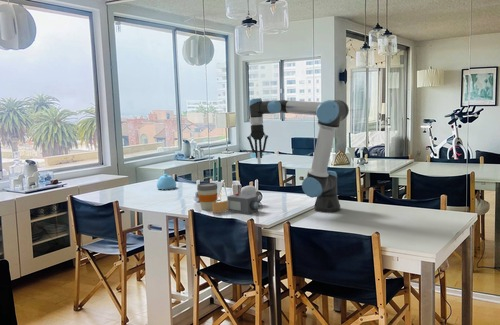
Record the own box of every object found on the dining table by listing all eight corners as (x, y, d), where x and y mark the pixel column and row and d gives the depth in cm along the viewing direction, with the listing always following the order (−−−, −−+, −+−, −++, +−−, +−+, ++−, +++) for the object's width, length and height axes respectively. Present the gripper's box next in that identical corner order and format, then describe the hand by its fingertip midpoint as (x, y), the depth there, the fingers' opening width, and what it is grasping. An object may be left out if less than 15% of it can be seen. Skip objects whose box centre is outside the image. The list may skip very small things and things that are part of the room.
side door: (213, 213, 276) (212, 203, 275) (212, 212, 277) (212, 202, 276) (229, 210, 281) (229, 200, 281) (228, 209, 282) (228, 200, 282)
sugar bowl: (170, 186, 379) (169, 172, 378) (180, 188, 368) (179, 173, 366) (153, 189, 370) (152, 174, 368) (163, 191, 358) (162, 176, 357)
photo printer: (253, 203, 301) (252, 184, 299) (257, 204, 297) (256, 185, 296) (240, 205, 295) (239, 186, 294) (243, 207, 292) (242, 187, 290)
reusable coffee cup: (221, 206, 297) (220, 182, 295) (214, 210, 285) (213, 186, 283) (202, 205, 300) (201, 182, 298) (195, 210, 288) (193, 186, 286)
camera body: (261, 211, 278) (260, 194, 277) (251, 214, 271) (250, 197, 270) (237, 207, 290) (237, 192, 289) (227, 211, 283) (227, 194, 282)
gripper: (268, 123, 283) (270, 162, 286) (246, 124, 285) (249, 163, 287) (267, 124, 276) (269, 163, 279) (245, 125, 277) (248, 164, 280)
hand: (259, 163), depth 283 cm, fingers closed
